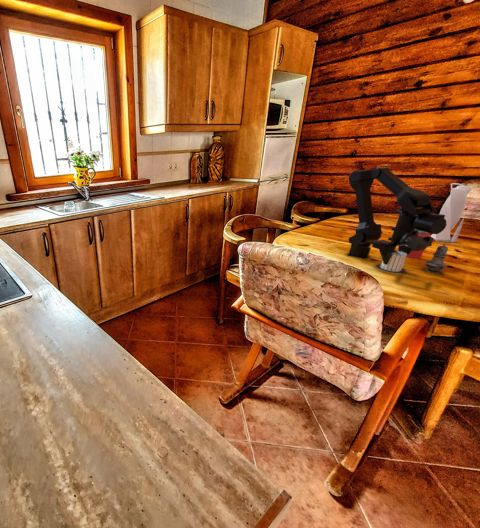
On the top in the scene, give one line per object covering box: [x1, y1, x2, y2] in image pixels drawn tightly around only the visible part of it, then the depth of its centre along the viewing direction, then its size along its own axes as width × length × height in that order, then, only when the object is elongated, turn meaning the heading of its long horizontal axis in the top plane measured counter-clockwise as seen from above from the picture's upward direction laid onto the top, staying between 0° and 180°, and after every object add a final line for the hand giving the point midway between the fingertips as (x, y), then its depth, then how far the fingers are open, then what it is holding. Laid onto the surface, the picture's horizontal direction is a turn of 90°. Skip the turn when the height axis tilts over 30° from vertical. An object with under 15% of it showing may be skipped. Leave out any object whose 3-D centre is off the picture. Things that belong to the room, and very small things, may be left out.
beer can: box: [406, 229, 430, 260], centre depth 122 cm, size 7×7×12 cm
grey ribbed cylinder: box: [380, 249, 408, 272], centre depth 113 cm, size 6×6×7 cm
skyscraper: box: [430, 182, 473, 244], centre depth 135 cm, size 8×8×28 cm
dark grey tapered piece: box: [424, 243, 449, 274], centre depth 108 cm, size 6×6×12 cm
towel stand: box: [376, 263, 406, 274], centre depth 113 cm, size 9×9×4 cm
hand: (392, 263), depth 113 cm, fingers closed on grey ribbed cylinder, 6 cm apart
